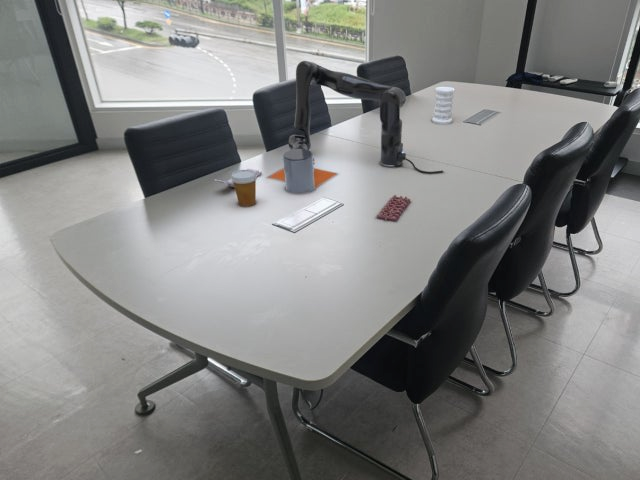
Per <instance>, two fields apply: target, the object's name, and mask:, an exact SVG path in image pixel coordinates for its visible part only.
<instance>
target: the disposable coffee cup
mask: <svg viewBox="0 0 640 480" xmlns="http://www.w3.org/2000/svg"><path fill="white" fill-rule="evenodd" d="M257 177H258V176H256V174H255V172H254V171H251V170H246V169H239V170H235V171H233V172H232V173H231V176H230V179H231V180H232V181H233V184H234V187H233V188H234V191H235V194H236V199H237V201H238V205H239V206H240V207H252V206H254V205H256V200H257V199H256V197H257V196H256V193H257V190H256V189H257V188H256V185H257V183H256V182H257Z"/></svg>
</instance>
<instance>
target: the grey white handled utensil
mask: <svg viewBox="0 0 640 480" xmlns="http://www.w3.org/2000/svg"><path fill="white" fill-rule="evenodd" d="M245 170H251V171H254V172H255V174H256V176H257V177H259V176H260V175H261V174H262V173H263V172H262V171H260V170H259V169H253V168H247V169H245ZM214 181H215V182H219V183H223V184H227V185H228V187H230V188H234V184H233V181H232V180H231V178H230V179H228V180H227V181H225V180H222V179H221V180H220V179H216V178H215V179H214Z"/></svg>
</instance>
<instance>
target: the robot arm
mask: <svg viewBox="0 0 640 480" xmlns="http://www.w3.org/2000/svg"><path fill="white" fill-rule="evenodd" d="M311 85H317V86H322V87H326V88H329V89H331V90H333V91H334V92H336V93H338V94H339V95H342V96H345V97H348V98H351V99H355V100H366V101H367V100H368V101H371V100H372V101H376V102H379V121H380V125H381V126H380V160H379V161H380V163H379V164H380V165H381V166H383V167H386V168H398V167H400V165H402V164H403V162H404V161H407V162H408V163H410V164H411V166H412V167H413V168H414V170H416V171H417V172H419V173H423V174H440V173H444V170H436V171H435V170H434V171H427V170H421V169H419V168H417V166H416V165H415V164H414V162H413V161H411V160H410V159H408V158H407V154H406V153H405V152H404V144H403V142H402V136H403V135H402V134H403V133H402V132H403V120H402V119H401V117H400V114H401V108H403V107H404V105H405V104H406V102H407V95H406V93H405V92H404V90H402V89H401V88H399V87H397V86H393V85H392V86H391V85H385V84H381V83H377V82H374V81H372V80H369V79H366V78H363V77H360V76H357V75H354V74H351V73H348V72H343V71H334V70H332V69H328V68H326V67H324V66H322V65H320V64H317V63H315V62H313V61H308V60H302V61H300V62H298V64H297V65H296V67H295V86H296V87H295V89H296V90H295V91H296V93H295V95H296V99H295V100H296V104H295V115H294V130H295V129H296V130H297V131H299V132H302V133H303V134H304V135H299V134H292V135H290V136H289V137H288V142H287V143H288V148H289V150H293V149H305V150H309V151H311V148H312V140H311V134H310V126H311V117H312V109H311V102H310V88H311ZM315 163H316V162H315V158H314V157H313V164H314V165H315Z"/></svg>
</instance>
